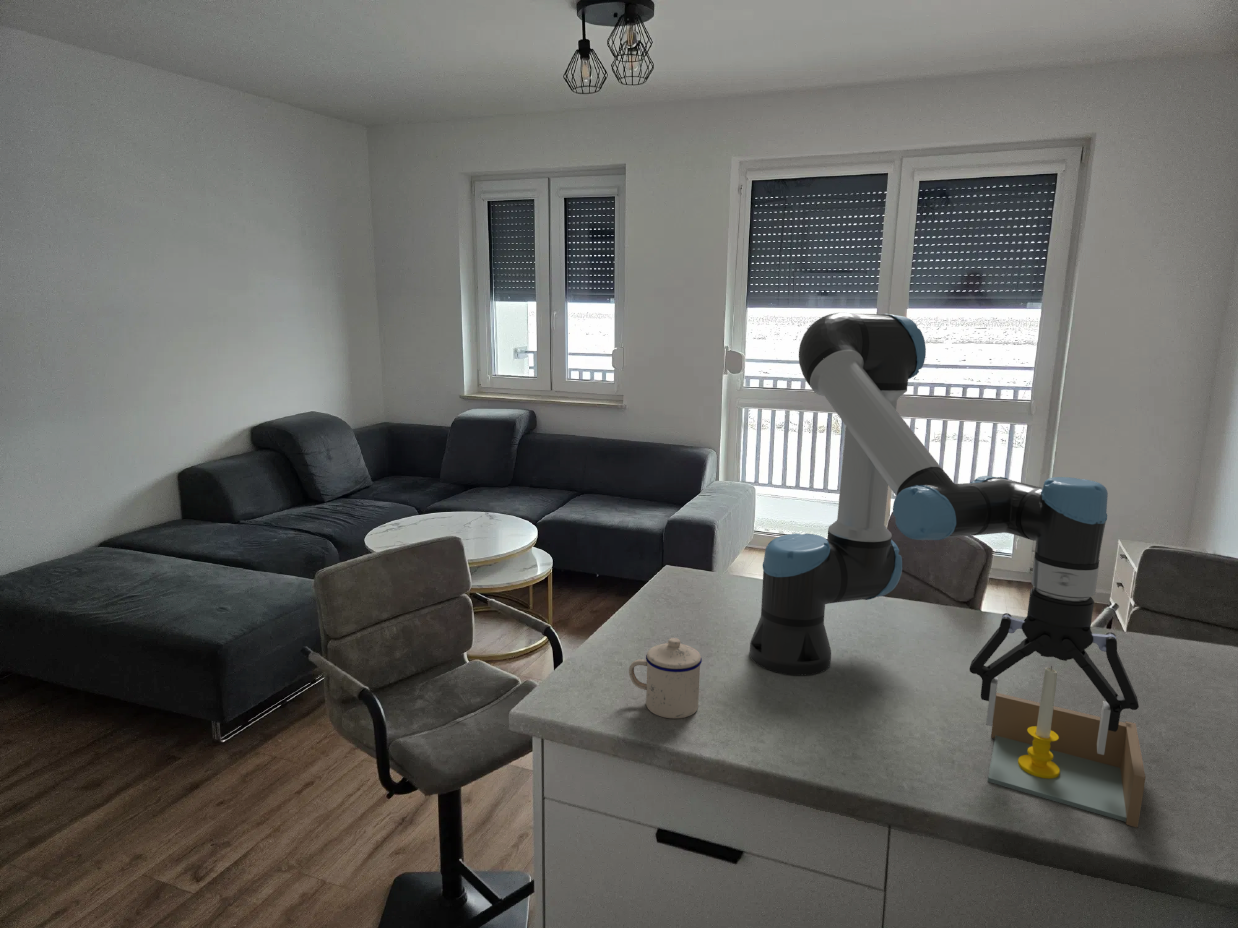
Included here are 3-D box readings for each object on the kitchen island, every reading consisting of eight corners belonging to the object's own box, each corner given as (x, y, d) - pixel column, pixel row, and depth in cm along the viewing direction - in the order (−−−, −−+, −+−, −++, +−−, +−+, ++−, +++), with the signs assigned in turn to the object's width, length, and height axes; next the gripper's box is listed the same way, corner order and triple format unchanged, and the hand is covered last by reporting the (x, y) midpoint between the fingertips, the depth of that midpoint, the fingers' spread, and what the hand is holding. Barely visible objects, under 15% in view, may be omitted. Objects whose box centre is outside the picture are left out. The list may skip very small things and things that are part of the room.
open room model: (982, 782, 102) (987, 735, 101) (991, 732, 115) (996, 690, 114) (1137, 827, 93) (1145, 777, 92) (1128, 767, 106) (1135, 723, 105)
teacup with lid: (703, 697, 125) (706, 632, 123) (694, 724, 116) (697, 655, 114) (635, 686, 128) (637, 623, 126) (621, 712, 119) (622, 644, 117)
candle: (1047, 758, 107) (1060, 658, 105) (1067, 779, 102) (1081, 675, 100) (1010, 756, 108) (1023, 657, 105) (1029, 778, 102) (1042, 673, 100)
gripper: (958, 582, 103) (944, 721, 107) (1179, 620, 91) (1153, 776, 95) (965, 568, 110) (951, 700, 113) (1171, 601, 97) (1148, 749, 101)
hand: (1043, 735), depth 104 cm, fingers open, 13 cm apart
